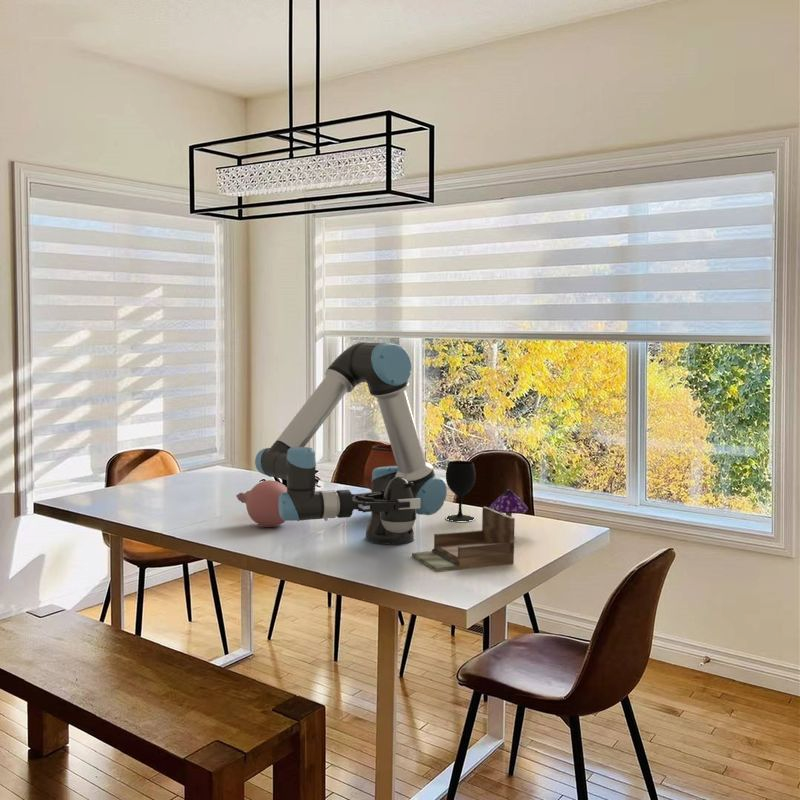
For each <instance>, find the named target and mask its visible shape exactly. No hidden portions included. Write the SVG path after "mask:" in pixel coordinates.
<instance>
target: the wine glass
mask: <svg viewBox="0 0 800 800" xmlns="http://www.w3.org/2000/svg"><path fill="white" fill-rule="evenodd" d="M476 474H477V473H476V468H475V464H474V462H473V461H467V460H451V461H448V463H447V467H446V471H445V480H446V481H445V483H446V484H447V485H446V486H448V487H447V488H449V490H450V491H451V492H452V493H453V494H455V495H456V496H457V498H458V512H457V514H451V516H450V515H447V516H448V517H447V519H449V520H453V521H469V520H473V519H474V518H475V517H474V516H472V517H471V515H466V514H463V509H462V505H463V504H462V503H463V497H464V496H466V494H468V493H469V492H470V491H471V490H472V489H473V487H474V485H475V483H476V477H477V475H476Z"/></svg>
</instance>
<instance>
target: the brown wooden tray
mask: <svg viewBox="0 0 800 800" xmlns="http://www.w3.org/2000/svg"><path fill="white" fill-rule="evenodd" d="M481 516H482V518H481V519H482V520H481V521H482V522H481V523H482V524H481V529H478V530H467V531H466V530H465V531H455V532H443V533H434V534H433V535H434V536H433V538H434V539H433V549H431V550H428V551H417V552H411V557H413V556H414V557H415V559H416V558H417V559H418V560H417V559H416V560H417V561H419V560H420V561H421V562H420V561H419V562H420V563H422V562H423V563H422V564H424V563H425V564H426V566H427V565H428V566H429V568H430V567H431V568H430V569H431V570H433V569H434V571H435V572H436V571H437V572H446V571H445V570H447V571H453V569H454V571H456V570H465V569H473V568H483V567H493V566H503V565H504V564H505V565H514V564H515V563H514V559H515V556H514V555H515V526H516V525H515V523H516V522H515V519H516V518H514V517H513V516H512V517H510V516H508V515H506V513H500V512H498V511H495V510H493V509H490V507H487V506H482V515H481ZM414 557H413V558H414ZM513 563H514V564H513ZM425 564H424V565H425ZM505 565H504V566H505ZM428 566H427V567H428ZM455 569H456V570H455Z"/></svg>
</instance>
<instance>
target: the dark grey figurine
mask: <svg viewBox="0 0 800 800" xmlns="http://www.w3.org/2000/svg"><path fill="white" fill-rule="evenodd" d="M411 486H413V482H409V483H408V482H407V481H406V479H404V478H402V477H395V478H393V479H392V480H391V481H390V482H389V484H388V486H387V488H386V490H385V493H384V496H383V500H397V499H412V498H414V497H413V493H412V490H411V488H410V487H411ZM380 519H381V521H382V525H383V526H384V528H385V529H386V530H388V531H390V532H394V533H403V532H407V531H409V530H410V529H411V528H413V527H414V524H415V522H416V519H417V513H416V509H401V510H399V512H398V513H396V512H380Z"/></svg>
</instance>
